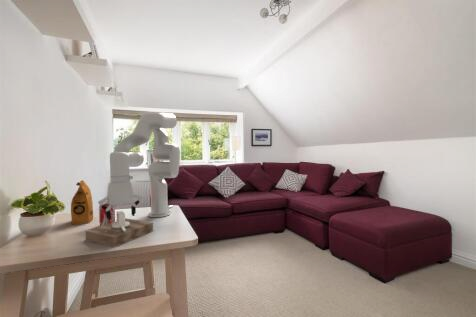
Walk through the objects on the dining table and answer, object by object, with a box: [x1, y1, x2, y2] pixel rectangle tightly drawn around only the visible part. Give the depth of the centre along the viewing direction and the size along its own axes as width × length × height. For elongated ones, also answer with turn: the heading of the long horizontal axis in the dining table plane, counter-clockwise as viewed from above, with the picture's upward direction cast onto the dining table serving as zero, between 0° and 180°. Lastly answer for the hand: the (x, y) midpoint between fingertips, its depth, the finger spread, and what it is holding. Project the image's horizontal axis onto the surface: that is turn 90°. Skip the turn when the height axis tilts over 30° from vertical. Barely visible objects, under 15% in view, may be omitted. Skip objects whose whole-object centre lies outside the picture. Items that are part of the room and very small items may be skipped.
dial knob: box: [112, 210, 130, 231], centre depth 100 cm, size 13×7×6 cm, turn 36°
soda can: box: [98, 200, 116, 227], centre depth 117 cm, size 7×7×12 cm
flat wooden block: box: [85, 217, 154, 248], centre depth 103 cm, size 20×18×4 cm
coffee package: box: [70, 179, 94, 226], centre depth 124 cm, size 10×12×22 cm
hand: (121, 217), depth 103 cm, fingers open, 9 cm apart
